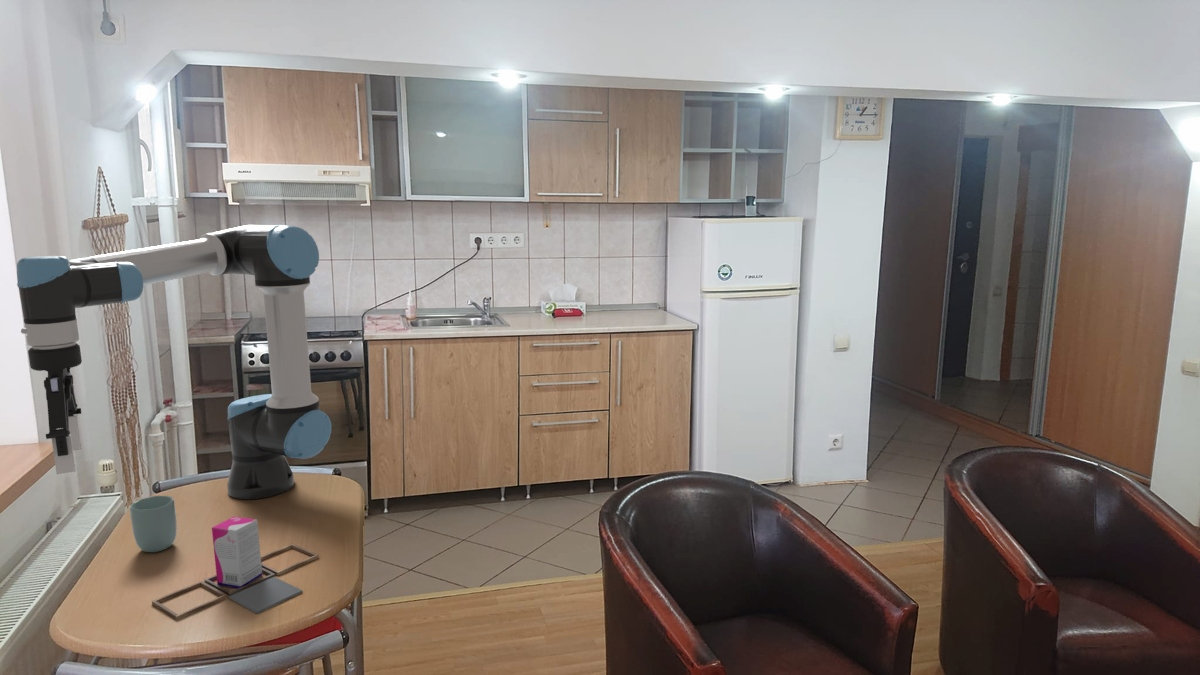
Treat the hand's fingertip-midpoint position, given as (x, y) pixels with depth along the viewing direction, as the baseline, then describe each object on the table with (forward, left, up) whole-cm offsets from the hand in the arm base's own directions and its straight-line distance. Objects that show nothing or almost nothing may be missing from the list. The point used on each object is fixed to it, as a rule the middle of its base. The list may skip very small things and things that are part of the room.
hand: (69, 461), depth 141 cm
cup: (-16, -7, -25) cm, 30 cm away
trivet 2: (-28, +20, -25) cm, 42 cm away
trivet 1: (-9, +20, -25) cm, 33 cm away
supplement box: (-18, +20, -25) cm, 37 cm away
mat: (-18, +30, -25) cm, 43 cm away
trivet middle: (-18, +20, -25) cm, 37 cm away
